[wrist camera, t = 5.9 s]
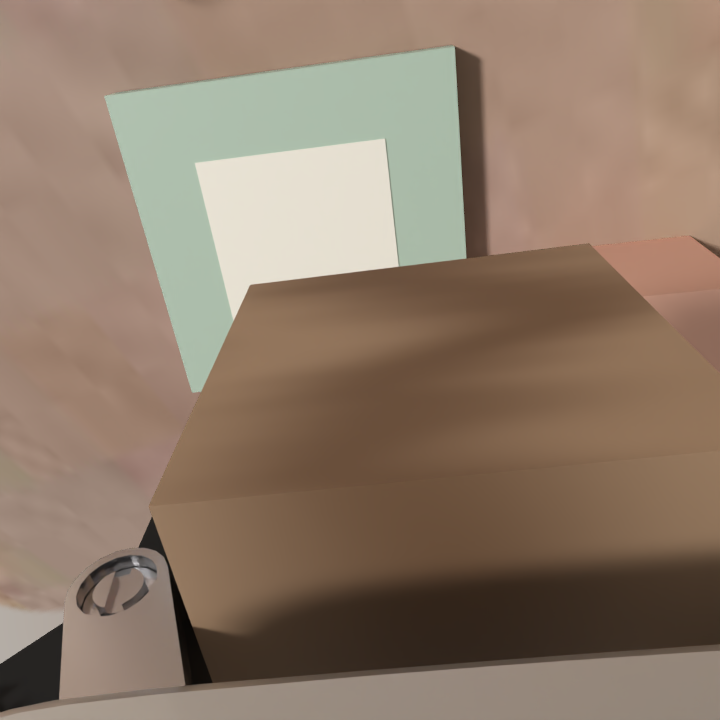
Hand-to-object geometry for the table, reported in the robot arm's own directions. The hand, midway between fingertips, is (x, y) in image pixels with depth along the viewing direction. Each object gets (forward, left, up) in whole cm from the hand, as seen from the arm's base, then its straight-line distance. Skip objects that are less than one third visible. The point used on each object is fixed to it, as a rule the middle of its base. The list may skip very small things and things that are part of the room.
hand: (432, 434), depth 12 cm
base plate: (+5, +2, -19) cm, 19 cm away
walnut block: (0, 0, -1) cm, 1 cm away
